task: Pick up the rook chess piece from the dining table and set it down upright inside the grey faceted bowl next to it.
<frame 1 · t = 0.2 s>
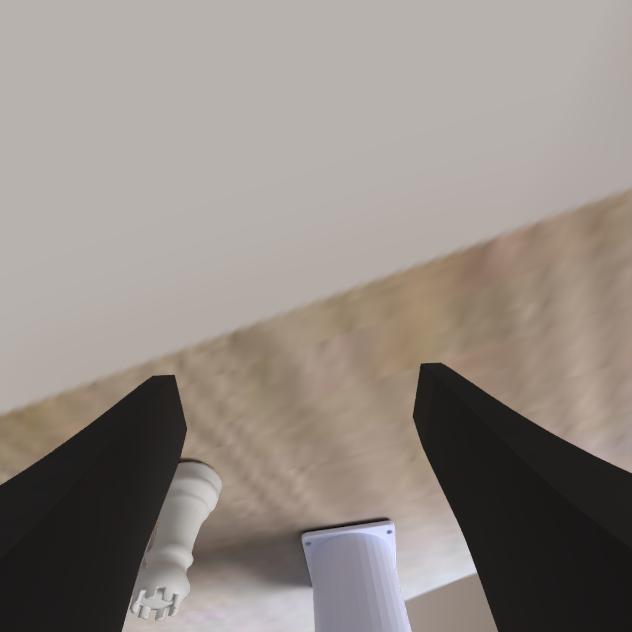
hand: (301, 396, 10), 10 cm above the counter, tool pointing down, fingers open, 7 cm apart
rook chess piece: (193, 476, 26), on the counter
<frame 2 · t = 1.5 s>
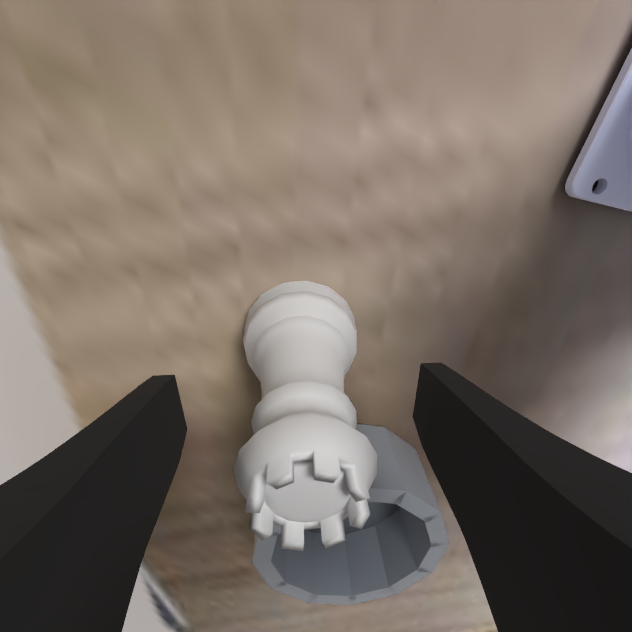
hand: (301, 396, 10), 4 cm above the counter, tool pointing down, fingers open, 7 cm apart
rook chess piece: (300, 325, 14), on the counter
grey faceted bowl: (341, 484, 18), on the counter
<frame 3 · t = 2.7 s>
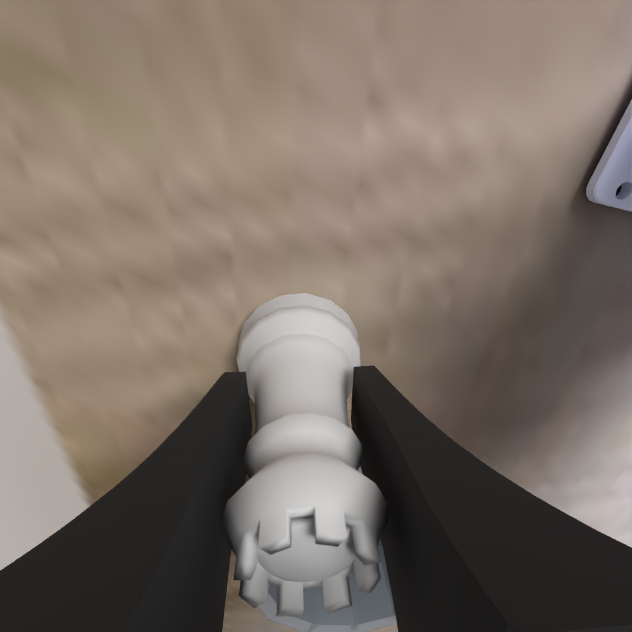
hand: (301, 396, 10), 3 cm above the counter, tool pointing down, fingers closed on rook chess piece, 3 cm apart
rook chess piece: (298, 339, 13), on the counter, touching gripper
grey faceted bowl: (342, 504, 17), on the counter
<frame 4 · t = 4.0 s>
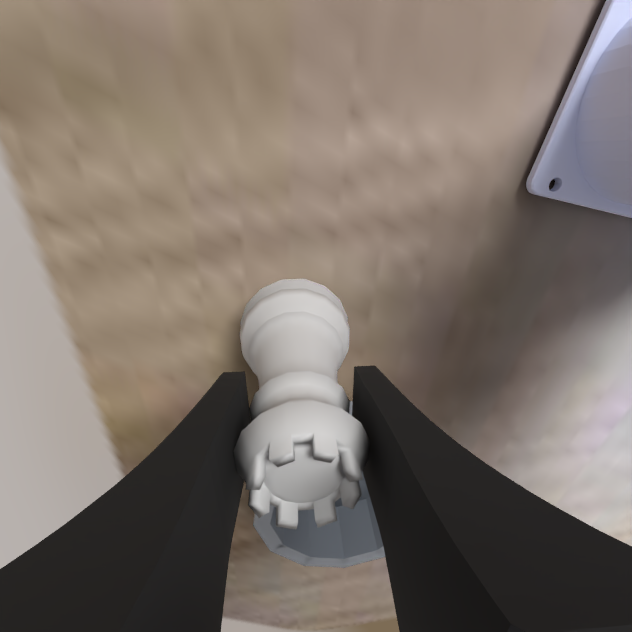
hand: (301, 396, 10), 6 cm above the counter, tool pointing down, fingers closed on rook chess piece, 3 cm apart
rook chess piece: (294, 321, 15), point 1 cm above the counter, touching gripper
grey faceted bowl: (334, 458, 20), on the counter
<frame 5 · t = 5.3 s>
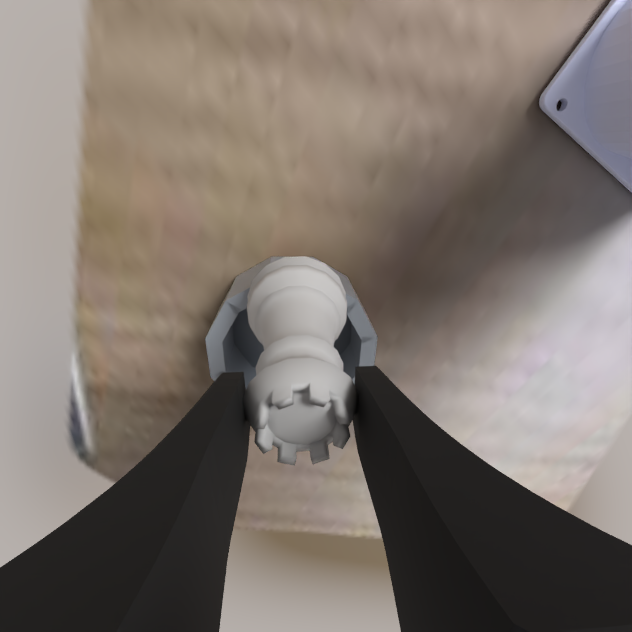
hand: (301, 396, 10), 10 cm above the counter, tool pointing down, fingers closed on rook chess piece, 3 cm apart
rook chess piece: (297, 297, 16), point 4 cm above the counter, touching gripper
grey faceted bowl: (292, 325, 21), on the counter
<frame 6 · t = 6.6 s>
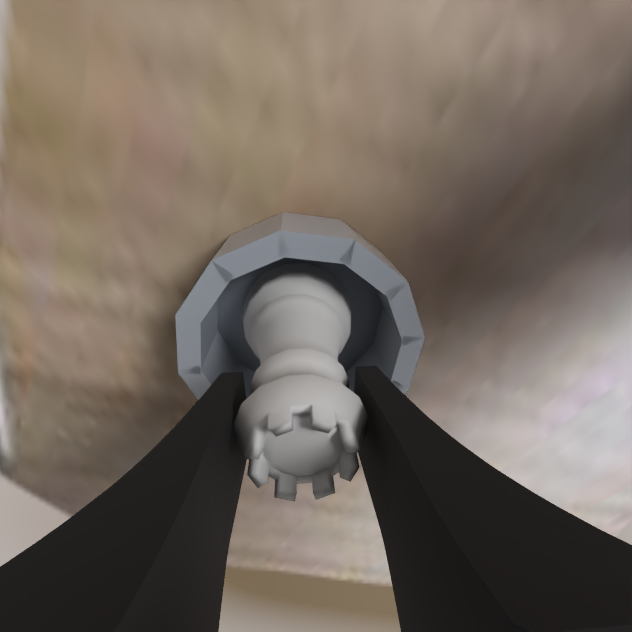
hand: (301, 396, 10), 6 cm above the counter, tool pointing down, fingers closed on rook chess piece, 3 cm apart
rook chess piece: (297, 307, 15), resting on grey faceted bowl, touching gripper
grey faceted bowl: (299, 313, 15), on the counter
when the fingers open (5 cm above the counter, at t = 7.5 s): rook chess piece stays where it is, resting on grey faceted bowl.
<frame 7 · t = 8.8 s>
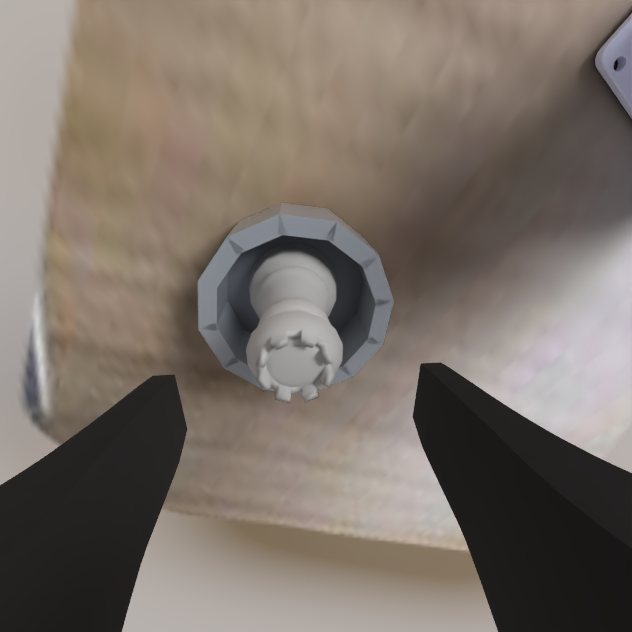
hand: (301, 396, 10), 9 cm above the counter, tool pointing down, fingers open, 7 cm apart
rook chess piece: (293, 281, 18), resting on grey faceted bowl
grey faceted bowl: (295, 287, 18), on the counter
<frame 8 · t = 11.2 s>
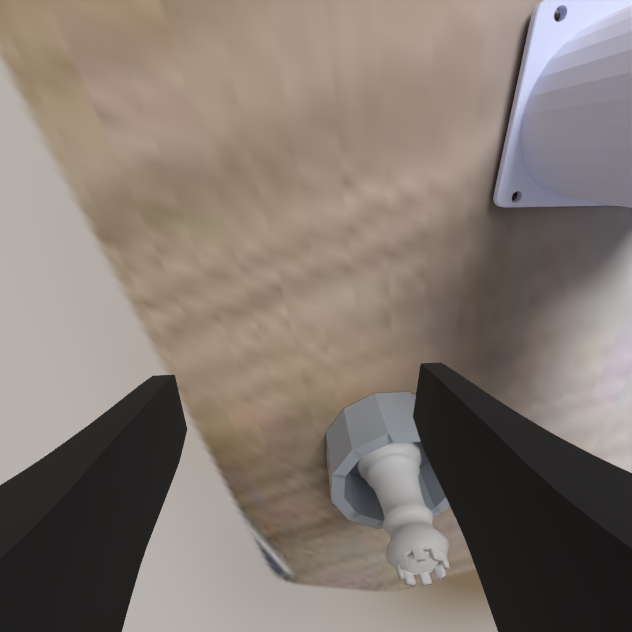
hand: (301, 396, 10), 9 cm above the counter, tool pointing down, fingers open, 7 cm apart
rook chess piece: (382, 441, 24), resting on grey faceted bowl
grey faceted bowl: (386, 440, 24), on the counter
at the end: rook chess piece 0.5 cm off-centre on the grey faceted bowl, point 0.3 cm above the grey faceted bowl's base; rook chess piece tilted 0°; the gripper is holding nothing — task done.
